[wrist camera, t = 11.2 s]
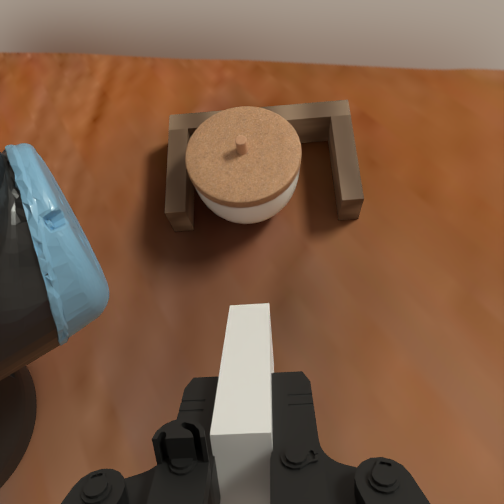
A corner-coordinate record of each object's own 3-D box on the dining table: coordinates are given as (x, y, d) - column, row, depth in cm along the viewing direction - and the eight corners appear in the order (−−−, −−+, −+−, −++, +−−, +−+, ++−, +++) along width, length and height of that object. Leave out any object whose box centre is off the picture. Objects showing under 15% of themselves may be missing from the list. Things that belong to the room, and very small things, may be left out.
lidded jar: (180, 203, 48) (155, 150, 39) (244, 138, 50) (234, 75, 42) (256, 260, 44) (248, 215, 36) (320, 186, 47) (326, 129, 38)
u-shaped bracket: (174, 231, 46) (164, 213, 43) (178, 138, 51) (169, 115, 47) (358, 218, 45) (363, 198, 41) (343, 125, 50) (348, 99, 46)
